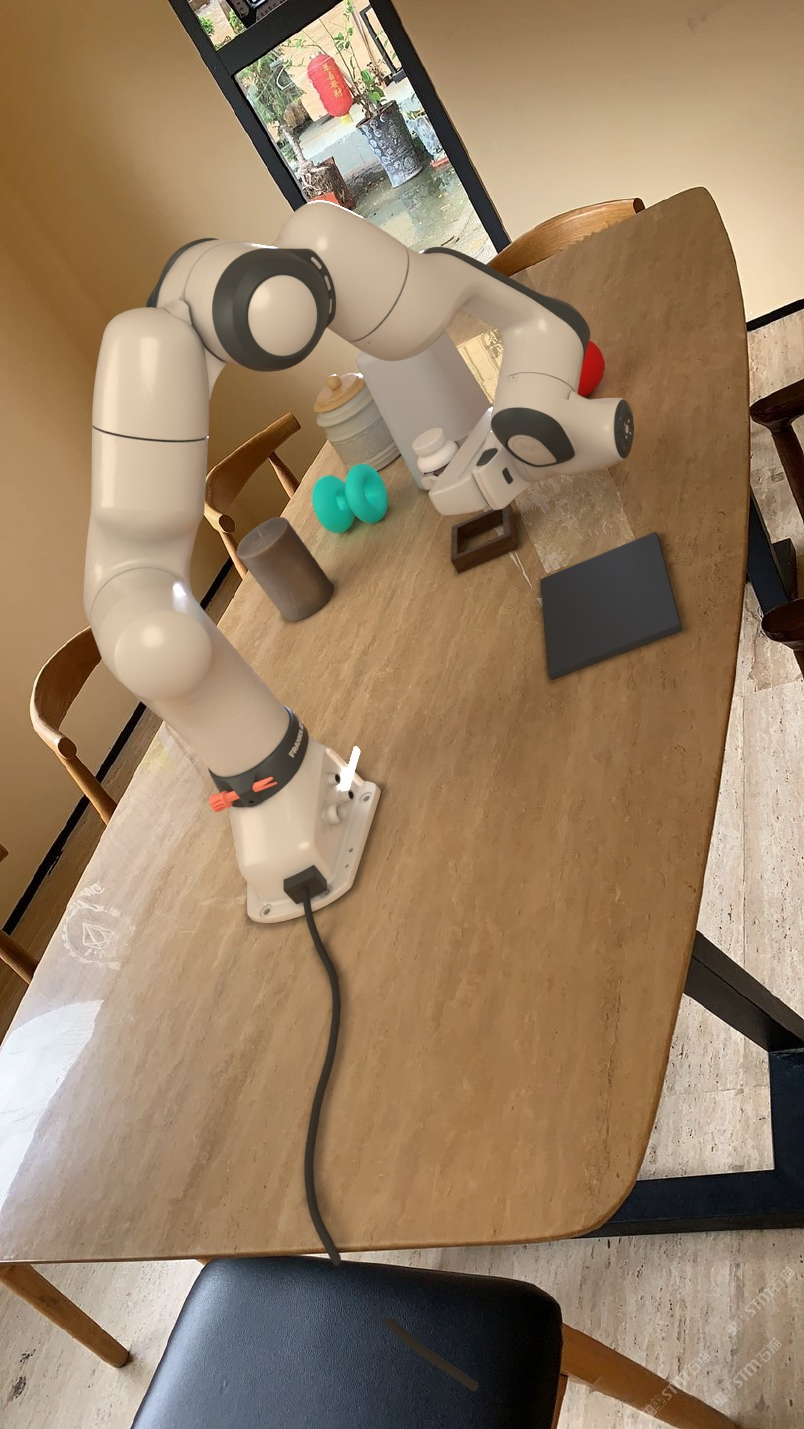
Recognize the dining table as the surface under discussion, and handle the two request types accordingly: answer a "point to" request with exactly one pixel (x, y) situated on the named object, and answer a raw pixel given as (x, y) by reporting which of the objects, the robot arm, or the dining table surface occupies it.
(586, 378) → the tomato
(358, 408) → the jar
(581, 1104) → the dining table surface
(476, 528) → the frame
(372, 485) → the teal spool
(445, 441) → the pill bottle
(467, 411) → the plastic bottle
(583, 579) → the mat
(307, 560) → the pillar candle
